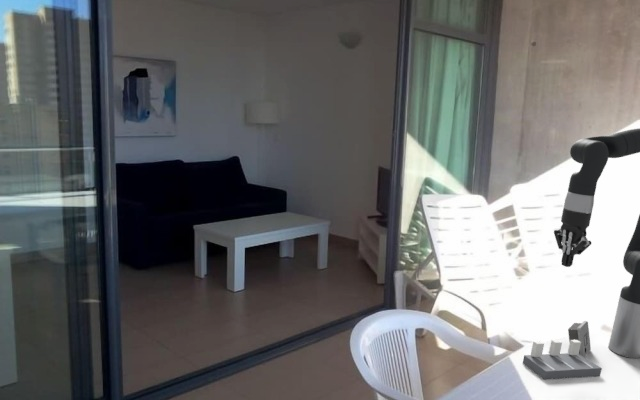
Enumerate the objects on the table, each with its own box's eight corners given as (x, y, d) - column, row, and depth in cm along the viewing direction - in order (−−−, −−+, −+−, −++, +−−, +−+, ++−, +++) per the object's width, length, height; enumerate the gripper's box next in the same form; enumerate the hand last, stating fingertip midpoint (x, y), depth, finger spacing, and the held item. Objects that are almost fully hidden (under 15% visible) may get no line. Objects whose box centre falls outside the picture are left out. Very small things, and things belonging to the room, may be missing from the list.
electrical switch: (583, 360, 162) (586, 329, 161) (564, 355, 165) (567, 325, 164) (590, 351, 169) (593, 322, 168) (573, 346, 172) (575, 318, 171)
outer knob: (537, 354, 155) (540, 341, 154) (541, 356, 154) (544, 343, 153) (530, 354, 154) (533, 341, 154) (534, 357, 153) (537, 343, 152)
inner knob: (574, 352, 159) (577, 339, 158) (578, 355, 158) (581, 342, 157) (567, 352, 158) (570, 340, 158) (571, 355, 157) (574, 342, 156)
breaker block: (576, 360, 161) (578, 352, 160) (599, 376, 152) (601, 367, 152) (522, 363, 155) (524, 354, 154) (544, 379, 146) (546, 371, 146)
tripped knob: (555, 352, 157) (558, 339, 157) (559, 355, 156) (562, 342, 155) (548, 353, 157) (551, 340, 156) (552, 355, 155) (555, 342, 154)
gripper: (551, 203, 163) (540, 258, 166) (584, 213, 150) (572, 273, 153) (571, 204, 165) (560, 259, 168) (605, 214, 153) (593, 273, 156)
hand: (566, 265), depth 161 cm, fingers closed
